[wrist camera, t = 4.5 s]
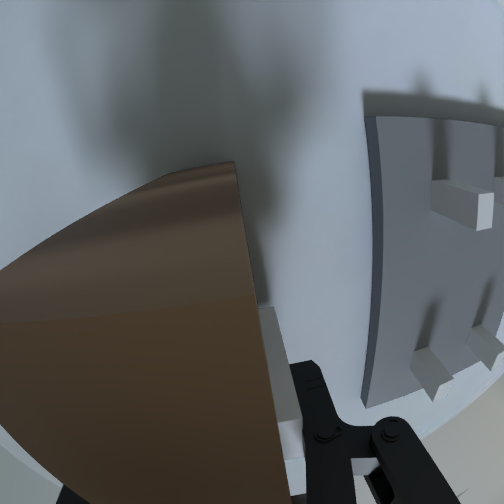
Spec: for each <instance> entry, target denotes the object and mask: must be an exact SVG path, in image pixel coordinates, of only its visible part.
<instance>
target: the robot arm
mask: <svg viewBox="0 0 504 504" xmlns="http://www.w3.org/2000/svg"><path fill="white" fill-rule="evenodd" d="M258 310H259V316H260V322H261V328H262V334H263V340H264V346H265V352H266V358H267V364H268V370H269V376H270V381H271V387H272V393H273V399H274V405H275V411H276V417H277V422H278V428H279V434H280V440H281V445H282V451H283V457H284V460H289V459H294V458H299V457H305V461H306V497H307V504H356V495H355V486H354V478H353V475H363V476H364V478H365V480H366V482H367V484H368V486H369V488H370V490H371V492H372V495H373V497H374V499H375V501H376V503H377V504H461V503H460V502H459V500H458V498H457V497H456V495H455V494H454V492H453V491H452V489H451V487H450V486H449V484H448V483H447V481H446V480H445V478H444V476H443V475H442V473H441V472H440V470H439V469H438V467H437V466H436V464H435V463H434V461H433V459H432V458H431V456H430V455H429V453H428V452H427V450H426V449H425V447H424V446H423V444H422V443H421V441H420V440H419V438H418V437H417V435H416V434H415V432H414V431H413V429H412V428H411V426H410V425H409V424H408V423H407V422H406V421H405V420H404V419H402V418H399V417H392V416H390V417H386V418H383V419H381V420H380V421H378V422H377V423H376V424H375V425H374V426H352V425H349V424H347V423H345V422H343V421H342V420H341V419H340V418H339V417H338V415H337V413H336V410H335V407H334V404H333V402H332V399H331V396H330V394H329V391H328V388H327V386H326V383H325V380H324V378H323V375H322V372H321V369H320V367H319V366H318V365H317V364H316V363H314V362H313V361H312V360H309V361H304V362H299V363H294V364H289V363H288V359H287V355H286V351H285V347H284V343H283V339H282V336H281V332H280V328H279V324H278V320H277V316H276V312H275V309H274V307H269V308H263V309H258ZM56 504H91V503H89V502H88V501H86V500H85V499H83V498H82V497H80V496H79V495H78V494H76V493H75V492H73V491H72V490H71V489H69V488H68V487H67V486H66V485H64V484H63V487H62V489H61V492H60V494H59V497H58V499H57V502H56Z"/></svg>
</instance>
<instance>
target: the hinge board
mask: <svg viewBox="0 0 504 504" xmlns="http://www.w3.org/2000/svg"><path fill="white" fill-rule="evenodd" d="M365 126H366V134H367V143H368V152H369V163H370V176H371V191H372V214H373V276H372V299H371V315H370V327H369V338H368V348H367V357H366V365H365V372H364V380H363V386H362V393H361V400H362V402H363V404H364V406H365V408H366V409H367V408H370V407H373V406H376V405H379V404H382V403H385V402H388V401H391V400H394V399H397V398H399V397H402V396H405V395H407V394H410V393H412V392H415V391H417V390H420V389H422V388H424V390H425V391H426V393H427V394H428V396H429V397H430V399H431V400H432V402H434V401H436V400H438V399H440V398H442V397H444V396H446V395H447V394H448V392H449V390H450V387H451V385H452V382H453V380H454V378H453V377H452V376H451V375H453V374H455V373H457V372H459V371H461V370H463V369H465V368H467V367H469V366H471V365H473V364H475V363H477V362H479V361H480V360H481V361H482V362H483V363H484V365H485V366H486V367H487V368H488V369H489V370H490V371H492V370H494V369H495V368H497V367H498V366H500V365H501V363H502V360H503V358H504V345H503V344H502V343H501V342H500V341H499V340H498V339H497V338H496V337H495V336H496V333H497V331H498V328H499V325H500V322H501V318H502V315H503V312H504V127H500V126H494V125H488V124H481V123H474V122H467V121H458V120H448V119H437V118H422V117H400V116H373V117H367V118H365Z"/></svg>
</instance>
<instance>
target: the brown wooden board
mask: <svg viewBox="0 0 504 504" xmlns="http://www.w3.org/2000/svg"><path fill="white" fill-rule="evenodd" d="M0 424H1V426H2V427H3V428H4V429H5V430H6V431H7V432H8V433H9V434H10V435H11V437H12V438H13V439H14V440H15V441H16V442H17V443H18V444H19V445H20V446H21V447H22V448H23V449H24V450H25V451H26V452H27V453H28V454H29V455H30V456H31V457H33V458H34V459H35V460H36V461H37V462H38V463H39V464H40V465H41V466H42V467H44V468H45V469H46V470H47V471H48V472H49V473H51V474H52V475H53V476H54V477H55V478H57V479H58V480H59V481H60V482H62V483H63V484H64V485H66V486H67V487H68V488H69V489H71V490H72V491H73V492H75V493H76V494H78V495H79V496H80V497H82V498H83V499H85V500H86V501H88V502H89V503H91V504H307V497H306V493H305V494H300V495H294V496H290V491H289V485H288V479H287V474H286V468H285V462H284V457H283V451H282V445H281V440H280V434H279V428H278V422H277V417H276V411H275V405H274V399H273V393H272V387H271V381H270V376H269V370H268V364H267V358H266V352H265V346H264V340H263V334H262V328H261V322H260V316H259V310H258V304H257V299H256V293H255V287H254V281H253V275H252V269H251V263H250V257H249V251H248V245H247V239H246V233H245V227H244V221H243V215H242V209H241V203H240V197H239V191H238V185H237V179H236V173H235V167H234V161H231V162H225V163H219V164H214V165H209V166H203V167H198V168H193V169H188V170H183V171H179V172H174V173H169V174H167V175H165V176H162V177H160V178H158V179H156V180H154V181H152V182H150V183H147V184H145V185H143V186H141V187H139V188H137V189H135V190H133V191H131V192H129V193H127V194H125V195H123V196H121V197H119V198H117V199H116V200H114V201H112V202H110V203H108V204H106V205H104V206H102V207H101V208H99V209H97V210H95V211H93V212H91V213H90V214H88V215H86V216H84V217H83V218H81V219H79V220H77V221H76V222H74V223H72V224H71V225H69V226H67V227H65V228H64V229H62V230H61V231H59V232H57V233H56V234H54V235H52V236H51V237H49V238H48V239H46V240H44V241H43V242H41V243H40V244H38V245H37V246H35V247H34V248H32V249H31V250H29V251H28V252H26V253H25V254H23V255H22V256H20V257H19V258H17V259H16V260H14V261H13V262H12V263H10V264H9V265H7V266H6V267H5V268H3V269H2V270H0Z"/></svg>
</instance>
